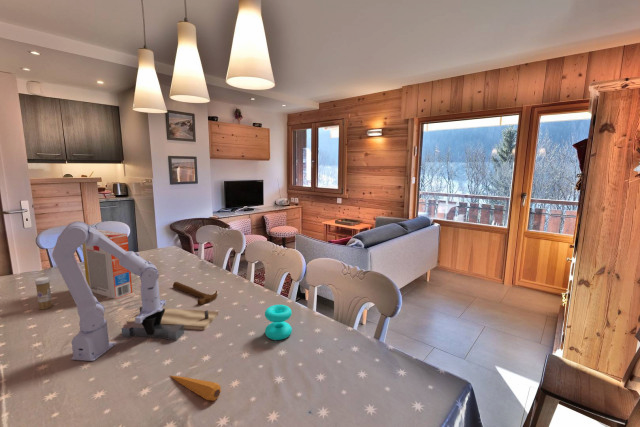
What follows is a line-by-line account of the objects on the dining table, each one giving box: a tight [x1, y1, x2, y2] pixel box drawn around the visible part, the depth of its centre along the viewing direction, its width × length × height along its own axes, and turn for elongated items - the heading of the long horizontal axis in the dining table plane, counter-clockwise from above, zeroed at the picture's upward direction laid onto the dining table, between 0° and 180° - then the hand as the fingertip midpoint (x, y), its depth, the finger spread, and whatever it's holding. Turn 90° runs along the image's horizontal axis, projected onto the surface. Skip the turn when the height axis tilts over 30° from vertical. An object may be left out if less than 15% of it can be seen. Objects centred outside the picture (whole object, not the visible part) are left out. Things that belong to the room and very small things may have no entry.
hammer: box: [172, 281, 218, 307], centre depth 146 cm, size 12×3×30 cm
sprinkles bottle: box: [34, 276, 53, 310], centre depth 129 cm, size 5×5×14 cm
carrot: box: [170, 375, 222, 402], centre depth 83 cm, size 20×4×4 cm, turn 62°
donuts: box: [264, 304, 293, 341], centre depth 110 cm, size 10×10×10 cm
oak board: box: [126, 306, 219, 331], centre depth 120 cm, size 12×32×4 cm, turn 84°
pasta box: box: [81, 229, 133, 300], centre depth 145 cm, size 23×8×30 cm, turn 65°
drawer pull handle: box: [121, 321, 185, 342], centre depth 109 cm, size 5×21×4 cm, turn 85°
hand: (153, 331), depth 109 cm, fingers closed on drawer pull handle, 3 cm apart
